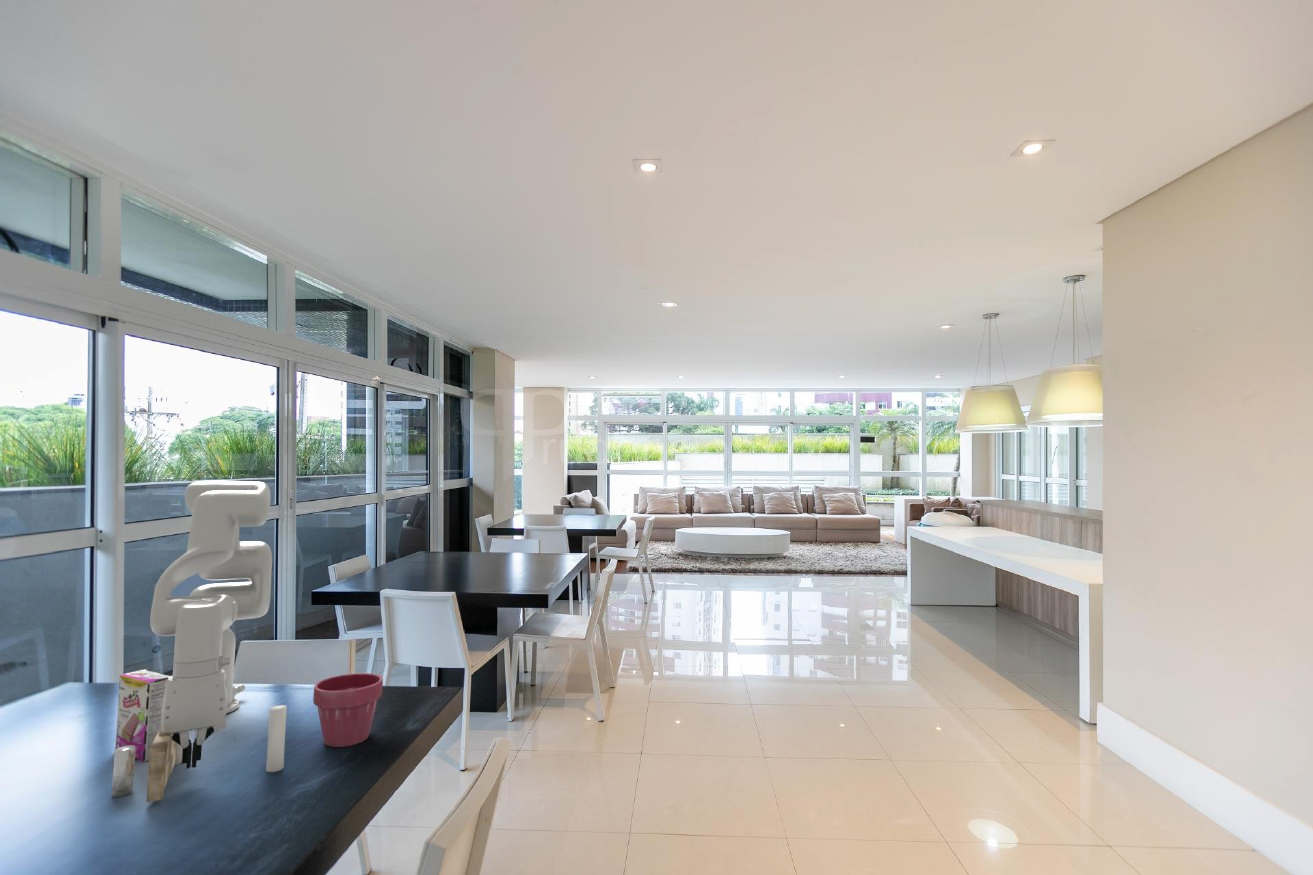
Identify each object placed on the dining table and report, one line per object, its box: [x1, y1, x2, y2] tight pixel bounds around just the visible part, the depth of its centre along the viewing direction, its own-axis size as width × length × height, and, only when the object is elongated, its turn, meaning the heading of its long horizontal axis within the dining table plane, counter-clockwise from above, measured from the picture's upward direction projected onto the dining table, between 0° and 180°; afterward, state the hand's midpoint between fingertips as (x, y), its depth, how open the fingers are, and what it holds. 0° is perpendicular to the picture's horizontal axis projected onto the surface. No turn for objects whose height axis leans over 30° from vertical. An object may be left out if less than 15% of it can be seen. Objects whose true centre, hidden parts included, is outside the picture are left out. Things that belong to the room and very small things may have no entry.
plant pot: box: [312, 672, 384, 748], centre depth 145 cm, size 14×14×13 cm
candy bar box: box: [114, 668, 171, 763], centre depth 136 cm, size 11×5×16 cm, turn 65°
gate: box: [146, 728, 177, 803], centre depth 122 cm, size 18×2×9 cm, turn 30°
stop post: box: [111, 745, 136, 798], centre depth 118 cm, size 3×3×8 cm
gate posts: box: [174, 705, 288, 773], centre depth 130 cm, size 4×26×12 cm, turn 84°
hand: (191, 765), depth 122 cm, fingers closed
